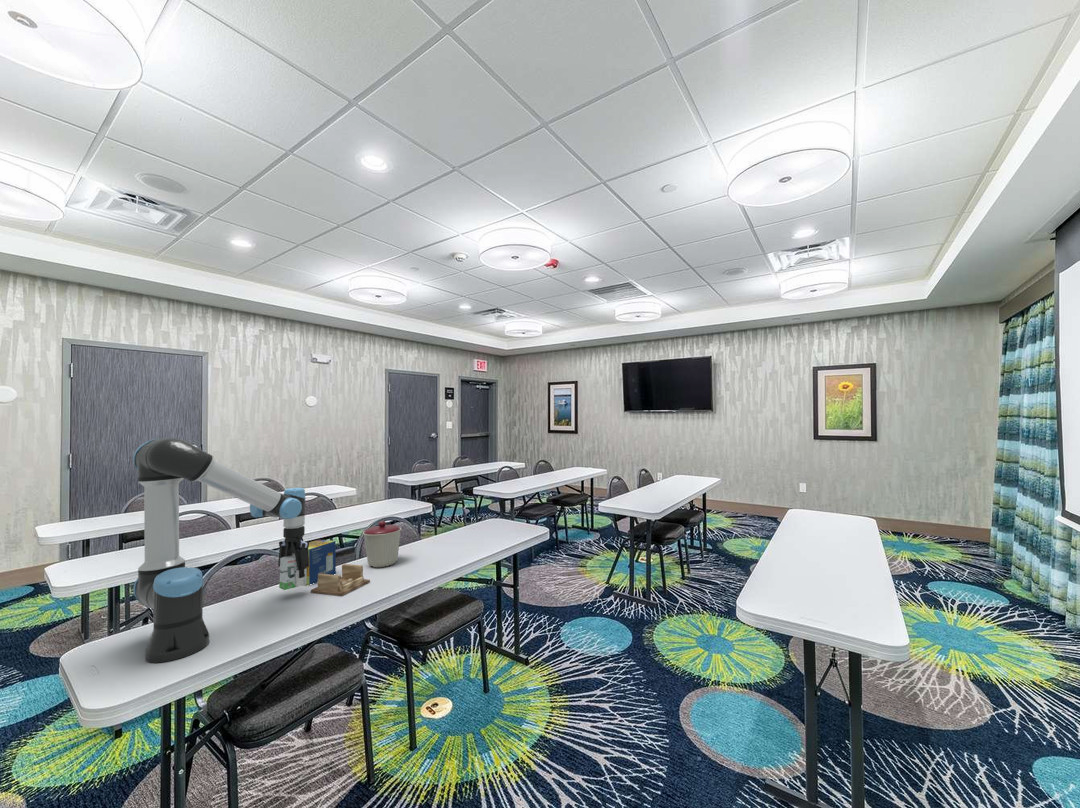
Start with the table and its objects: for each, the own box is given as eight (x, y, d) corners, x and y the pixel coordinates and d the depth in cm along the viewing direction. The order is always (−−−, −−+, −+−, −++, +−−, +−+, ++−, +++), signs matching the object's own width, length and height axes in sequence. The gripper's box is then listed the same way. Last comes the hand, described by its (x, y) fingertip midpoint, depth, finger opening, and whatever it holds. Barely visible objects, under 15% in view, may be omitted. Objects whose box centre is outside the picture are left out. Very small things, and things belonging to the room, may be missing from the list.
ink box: (284, 590, 171) (284, 559, 172) (278, 588, 174) (279, 557, 175) (306, 584, 178) (307, 554, 179) (301, 582, 181) (302, 553, 182)
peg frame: (341, 596, 174) (341, 577, 174) (310, 592, 179) (310, 574, 179) (370, 582, 189) (369, 565, 189) (340, 579, 194) (340, 563, 194)
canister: (383, 557, 226) (382, 516, 228) (410, 560, 219) (409, 518, 220) (354, 568, 210) (353, 523, 211) (382, 572, 202) (381, 525, 204)
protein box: (290, 584, 191) (290, 548, 192) (318, 572, 205) (318, 539, 206) (309, 586, 188) (308, 549, 188) (336, 574, 202) (336, 540, 203)
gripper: (319, 525, 178) (319, 584, 177) (284, 523, 185) (283, 580, 183) (304, 529, 171) (303, 590, 170) (268, 527, 178) (266, 586, 176)
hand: (293, 585), depth 176 cm, fingers closed on ink box, 6 cm apart
